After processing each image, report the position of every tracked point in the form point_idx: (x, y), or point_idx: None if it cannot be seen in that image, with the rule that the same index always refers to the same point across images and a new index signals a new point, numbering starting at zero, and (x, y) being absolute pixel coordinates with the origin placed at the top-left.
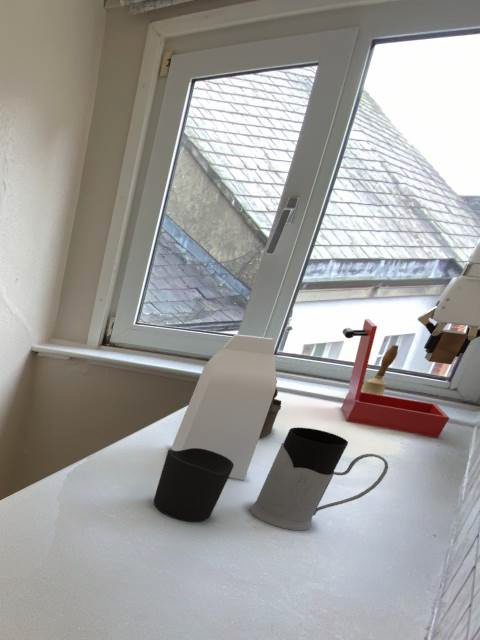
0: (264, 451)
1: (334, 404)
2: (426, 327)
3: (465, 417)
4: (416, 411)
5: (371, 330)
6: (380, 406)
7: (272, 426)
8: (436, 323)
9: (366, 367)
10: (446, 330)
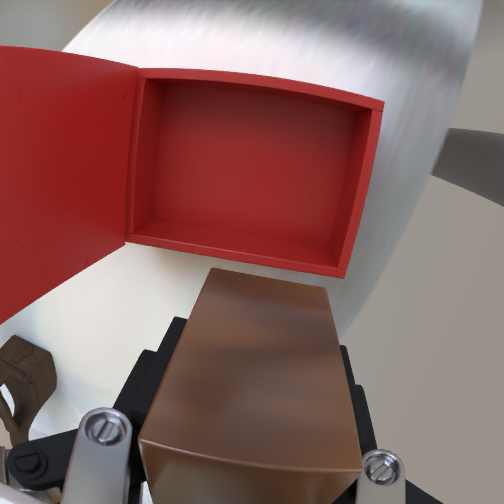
0: (71, 423)
1: (156, 42)
2: (39, 448)
3: (475, 3)
4: (271, 258)
5: None
6: (181, 251)
7: (50, 376)
8: (65, 497)
9: (50, 290)
10: (186, 490)
